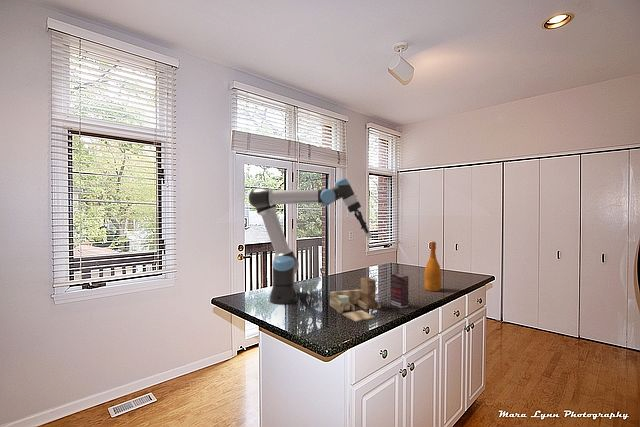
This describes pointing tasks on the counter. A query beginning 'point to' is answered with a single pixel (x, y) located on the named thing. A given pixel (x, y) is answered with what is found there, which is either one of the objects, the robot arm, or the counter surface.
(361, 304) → the rack
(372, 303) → the brown rectangular block
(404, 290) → the supplement box
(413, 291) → the counter surface
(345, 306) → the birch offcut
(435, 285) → the wine bottle
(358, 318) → the cork pad
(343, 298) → the sage offcut
